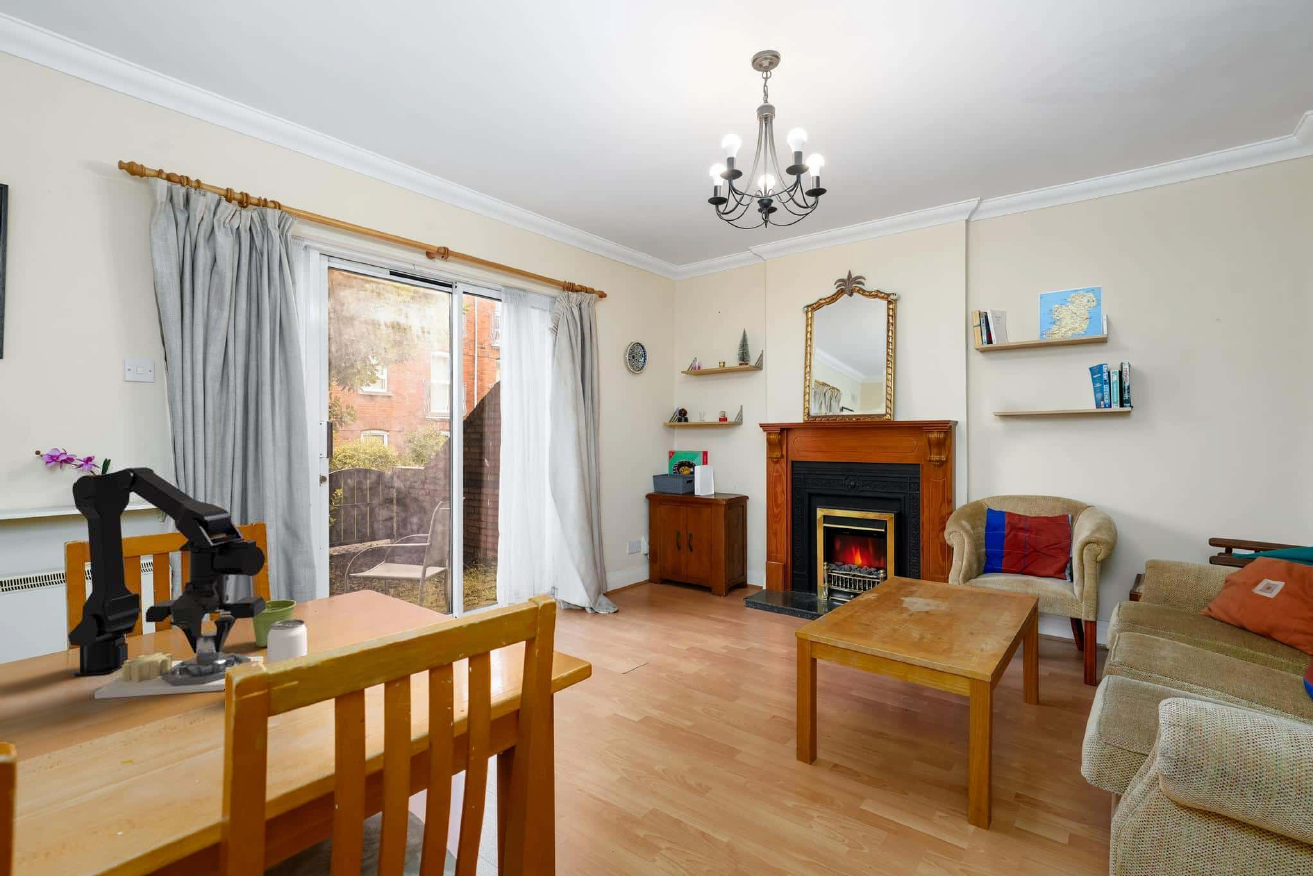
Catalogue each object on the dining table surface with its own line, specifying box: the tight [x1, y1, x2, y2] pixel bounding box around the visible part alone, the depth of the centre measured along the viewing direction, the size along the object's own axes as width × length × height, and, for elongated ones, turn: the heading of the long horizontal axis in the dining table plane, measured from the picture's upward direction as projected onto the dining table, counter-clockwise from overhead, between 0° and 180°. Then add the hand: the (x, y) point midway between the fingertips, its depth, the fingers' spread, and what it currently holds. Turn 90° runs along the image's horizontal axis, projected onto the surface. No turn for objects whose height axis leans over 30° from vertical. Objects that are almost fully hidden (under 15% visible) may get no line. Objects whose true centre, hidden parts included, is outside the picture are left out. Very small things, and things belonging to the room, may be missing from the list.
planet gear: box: [179, 631, 236, 677], centre depth 120 cm, size 9×9×6 cm
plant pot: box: [251, 599, 297, 648], centre depth 139 cm, size 9×9×9 cm
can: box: [266, 618, 308, 664], centre depth 116 cm, size 6×6×12 cm
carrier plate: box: [94, 652, 264, 700], centre depth 119 cm, size 22×14×4 cm, turn 101°
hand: (207, 652), depth 120 cm, fingers closed on planet gear, 3 cm apart
